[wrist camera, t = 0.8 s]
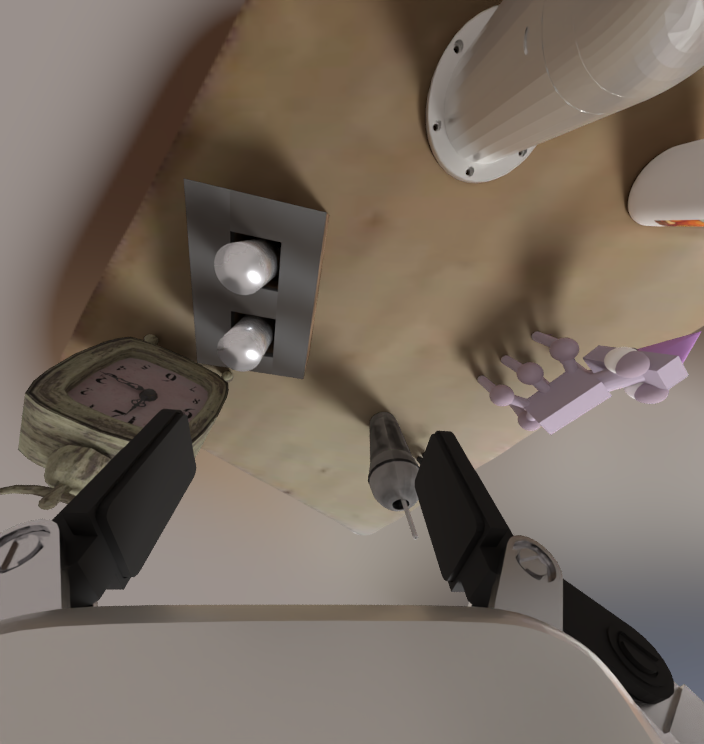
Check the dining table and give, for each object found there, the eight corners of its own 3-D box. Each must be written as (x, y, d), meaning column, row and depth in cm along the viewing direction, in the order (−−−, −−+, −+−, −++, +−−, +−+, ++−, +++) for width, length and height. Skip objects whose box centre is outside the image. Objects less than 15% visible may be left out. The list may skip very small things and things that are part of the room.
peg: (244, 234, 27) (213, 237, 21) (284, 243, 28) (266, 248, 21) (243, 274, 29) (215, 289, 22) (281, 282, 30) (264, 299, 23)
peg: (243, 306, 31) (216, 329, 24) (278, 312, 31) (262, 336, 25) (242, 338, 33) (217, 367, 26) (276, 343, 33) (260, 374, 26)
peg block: (220, 189, 29) (183, 178, 22) (329, 215, 31) (326, 212, 24) (223, 336, 37) (197, 362, 30) (309, 351, 39) (303, 379, 32)
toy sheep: (591, 276, 35) (720, 307, 24) (618, 325, 40) (740, 372, 28) (468, 375, 42) (522, 437, 30) (502, 408, 46) (562, 474, 35)
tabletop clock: (246, 370, 40) (134, 545, 18) (223, 412, 44) (107, 600, 22) (143, 320, 36) (-163, 469, 14) (128, 370, 39) (-138, 553, 17)
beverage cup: (354, 430, 47) (362, 553, 29) (375, 399, 44) (399, 515, 26) (389, 443, 48) (417, 567, 31) (412, 415, 45) (457, 534, 28)
